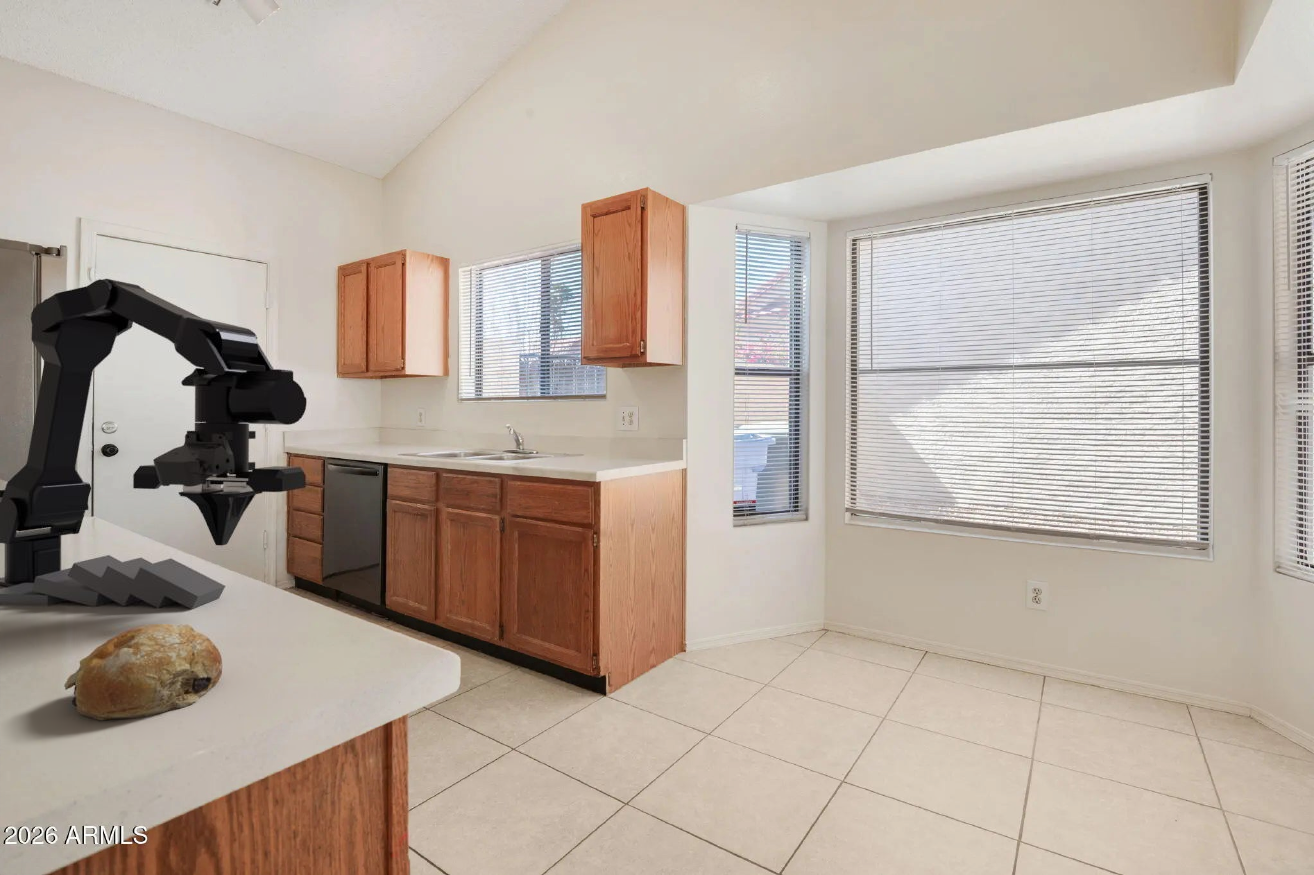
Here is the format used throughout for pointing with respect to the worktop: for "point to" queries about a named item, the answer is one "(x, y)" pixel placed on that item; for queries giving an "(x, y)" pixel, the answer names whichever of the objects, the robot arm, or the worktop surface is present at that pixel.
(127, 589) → the tile
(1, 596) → the tile
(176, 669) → the bread roll
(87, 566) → the tile
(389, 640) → the worktop surface
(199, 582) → the tile
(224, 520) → the robot arm
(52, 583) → the tile
